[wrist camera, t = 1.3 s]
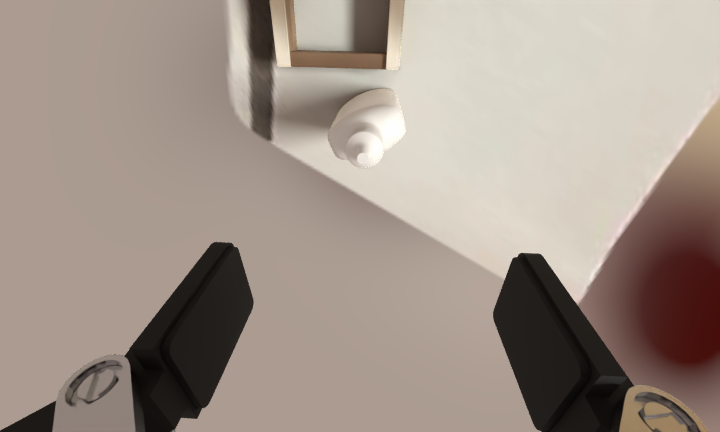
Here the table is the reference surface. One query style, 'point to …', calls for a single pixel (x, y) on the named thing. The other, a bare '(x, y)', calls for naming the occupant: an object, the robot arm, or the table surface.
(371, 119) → the eye dropper bottle
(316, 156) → the table surface
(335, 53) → the walnut collar
